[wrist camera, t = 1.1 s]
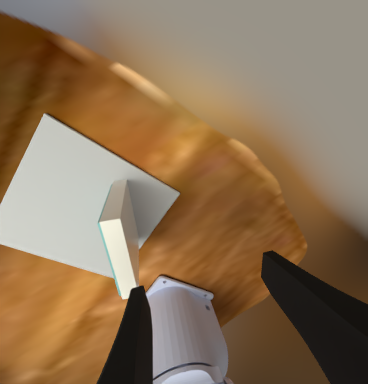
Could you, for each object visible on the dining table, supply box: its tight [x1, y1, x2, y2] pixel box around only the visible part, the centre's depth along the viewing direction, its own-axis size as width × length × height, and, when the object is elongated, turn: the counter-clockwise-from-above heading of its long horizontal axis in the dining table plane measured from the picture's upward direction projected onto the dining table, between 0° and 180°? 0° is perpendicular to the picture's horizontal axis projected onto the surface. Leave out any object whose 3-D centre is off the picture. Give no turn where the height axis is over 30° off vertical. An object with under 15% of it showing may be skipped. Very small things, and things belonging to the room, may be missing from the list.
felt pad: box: [0, 114, 180, 278], centre depth 18 cm, size 13×13×1 cm
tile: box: [97, 179, 139, 299], centre depth 16 cm, size 1×7×7 cm, turn 3°
